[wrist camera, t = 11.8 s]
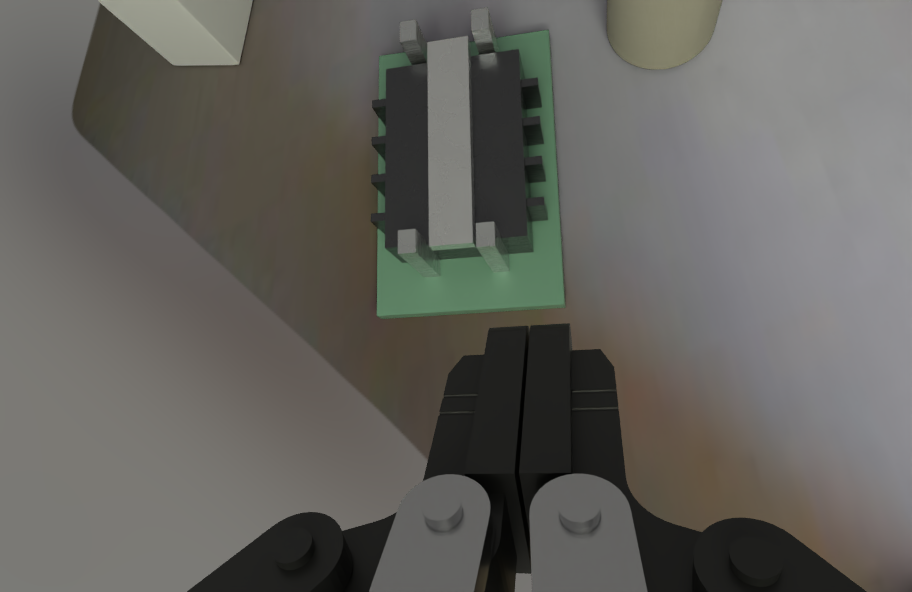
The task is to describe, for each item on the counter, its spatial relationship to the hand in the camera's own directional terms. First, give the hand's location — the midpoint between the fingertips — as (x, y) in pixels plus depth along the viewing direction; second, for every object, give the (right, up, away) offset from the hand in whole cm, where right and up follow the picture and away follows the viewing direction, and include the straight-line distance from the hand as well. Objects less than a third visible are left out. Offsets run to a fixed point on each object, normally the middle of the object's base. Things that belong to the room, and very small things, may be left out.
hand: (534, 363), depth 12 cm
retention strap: (-2, +12, +32) cm, 34 cm away
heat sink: (-1, +11, +36) cm, 38 cm away
